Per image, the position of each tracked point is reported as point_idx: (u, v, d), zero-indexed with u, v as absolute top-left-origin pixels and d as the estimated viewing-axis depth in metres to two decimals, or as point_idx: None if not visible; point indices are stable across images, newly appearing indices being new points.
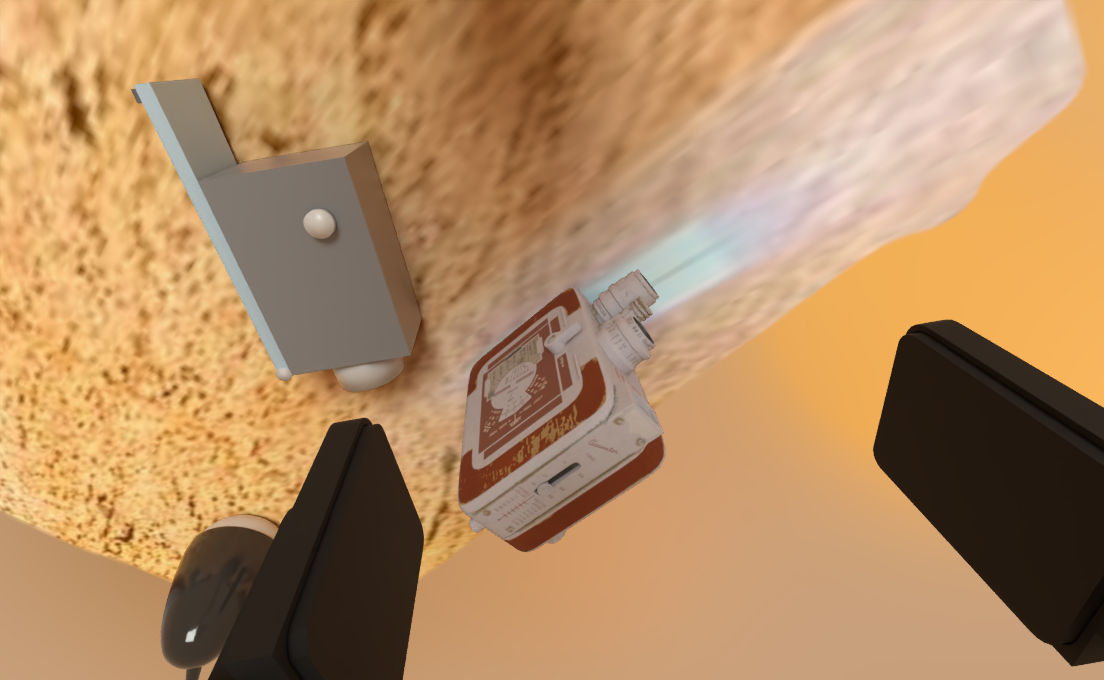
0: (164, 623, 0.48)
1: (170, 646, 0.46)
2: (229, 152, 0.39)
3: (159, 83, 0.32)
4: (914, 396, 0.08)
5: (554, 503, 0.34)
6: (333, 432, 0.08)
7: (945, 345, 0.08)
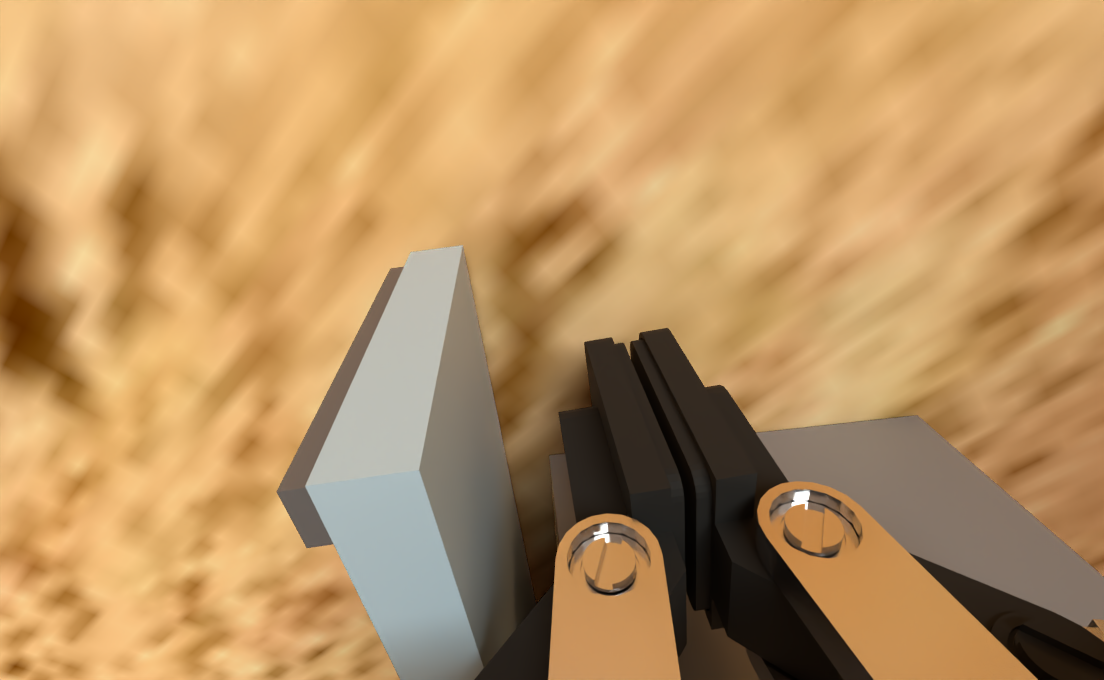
0: None
1: None
2: (504, 458, 0.12)
3: (435, 410, 0.05)
4: None
5: None
6: (592, 347, 0.09)
7: (653, 351, 0.09)
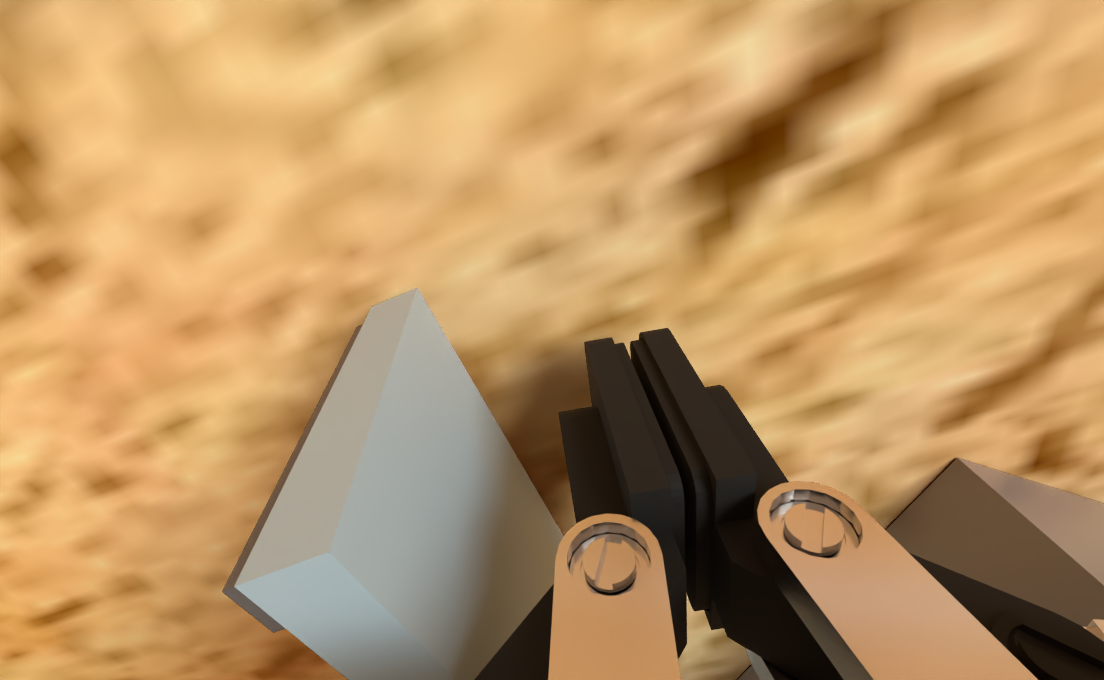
0: None
1: None
2: (522, 475, 0.12)
3: (360, 480, 0.05)
4: None
5: None
6: (592, 347, 0.09)
7: (653, 351, 0.09)
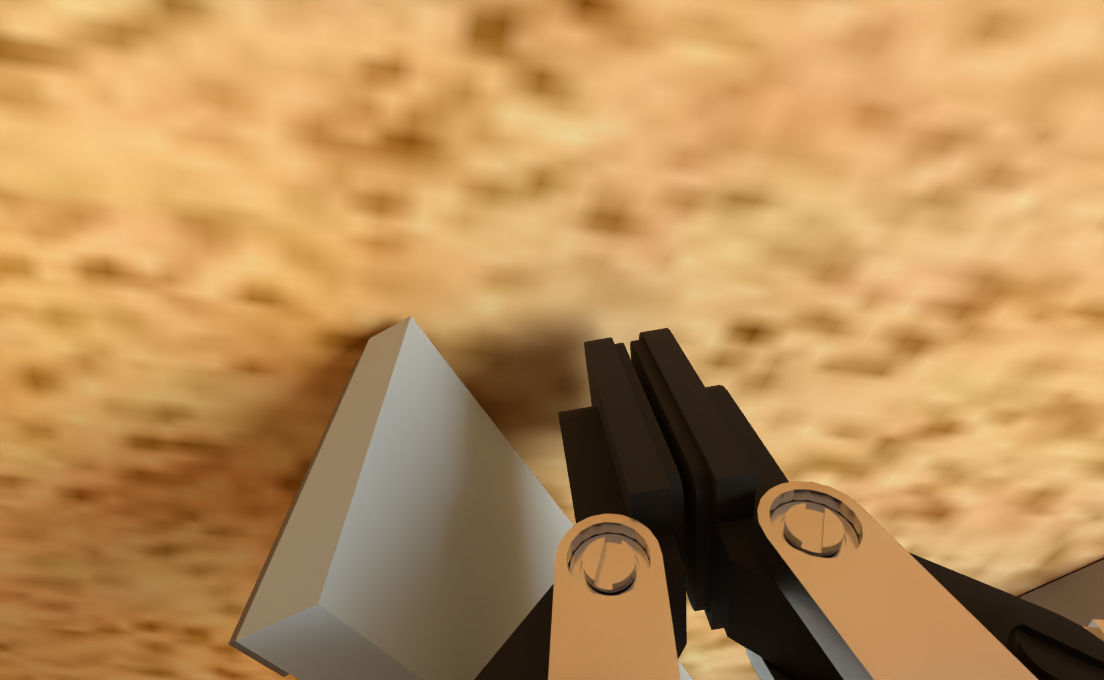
0: None
1: None
2: (536, 487, 0.12)
3: (351, 525, 0.06)
4: None
5: None
6: (592, 347, 0.09)
7: (653, 351, 0.09)
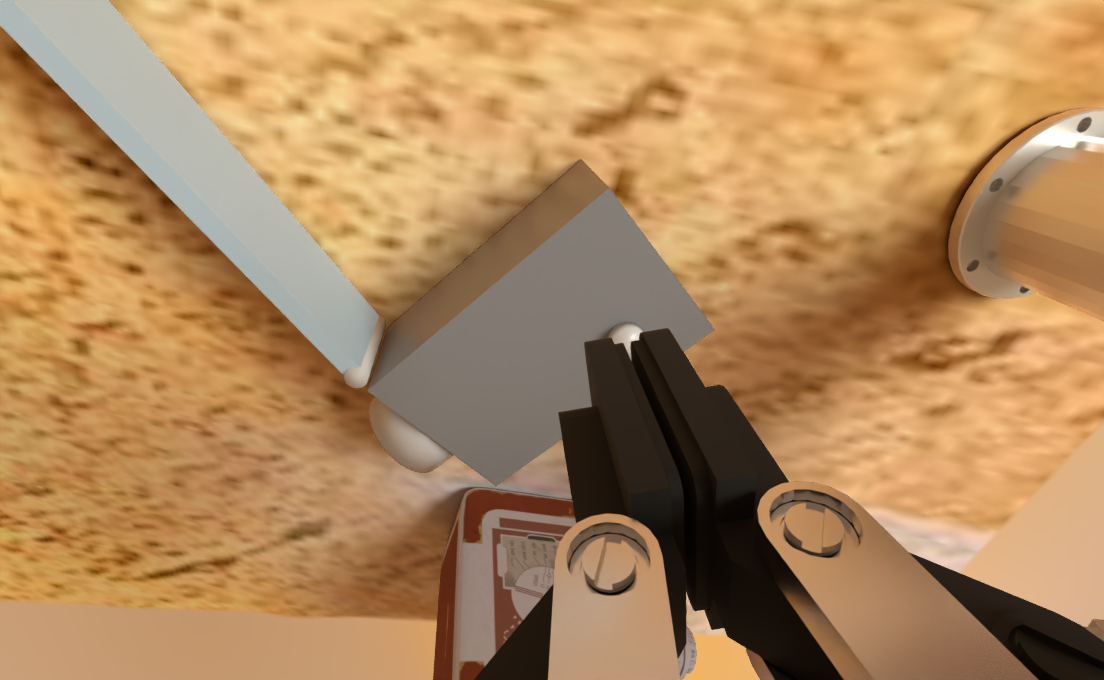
0: None
1: None
2: (143, 46, 0.23)
3: None
4: None
5: None
6: (592, 347, 0.09)
7: (653, 350, 0.09)
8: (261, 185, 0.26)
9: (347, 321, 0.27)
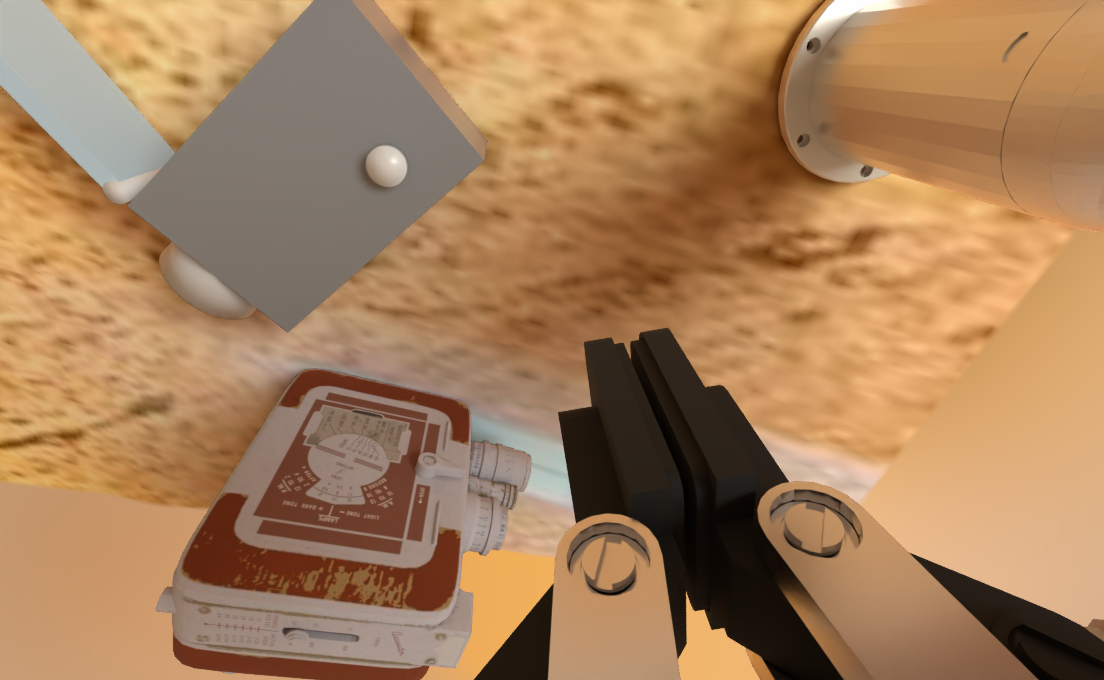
0: None
1: None
2: None
3: None
4: None
5: (284, 650, 0.26)
6: (592, 347, 0.09)
7: (653, 351, 0.09)
8: None
9: (120, 143, 0.27)
